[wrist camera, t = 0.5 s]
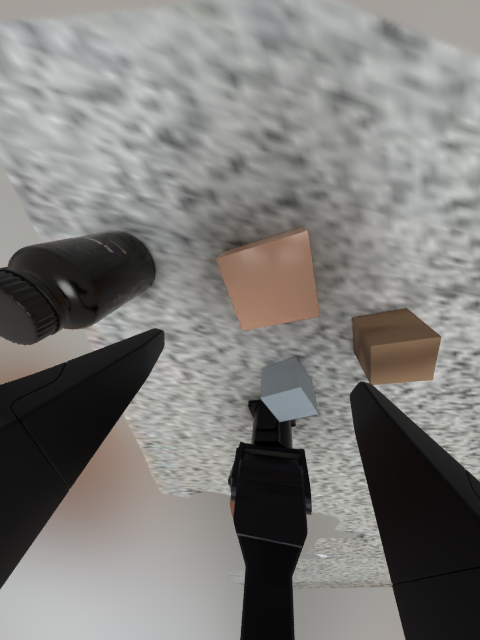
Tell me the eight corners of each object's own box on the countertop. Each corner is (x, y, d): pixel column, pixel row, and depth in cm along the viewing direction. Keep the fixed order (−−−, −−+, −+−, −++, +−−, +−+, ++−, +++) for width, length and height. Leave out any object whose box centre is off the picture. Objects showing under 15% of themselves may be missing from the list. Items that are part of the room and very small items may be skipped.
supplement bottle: (138, 222, 19) (-10, 247, 9) (165, 286, 23) (78, 354, 13) (85, 238, 21) (-88, 271, 11) (118, 294, 24) (8, 361, 14)
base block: (314, 302, 21) (320, 316, 19) (245, 316, 24) (242, 330, 21) (303, 226, 18) (307, 230, 15) (223, 251, 20) (215, 258, 18)
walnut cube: (402, 345, 22) (432, 380, 18) (353, 352, 24) (370, 384, 19) (406, 307, 20) (441, 336, 16) (351, 317, 21) (370, 345, 17)
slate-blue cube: (311, 380, 27) (318, 414, 23) (279, 389, 29) (279, 422, 25) (296, 356, 25) (300, 387, 21) (262, 367, 27) (260, 398, 23)
